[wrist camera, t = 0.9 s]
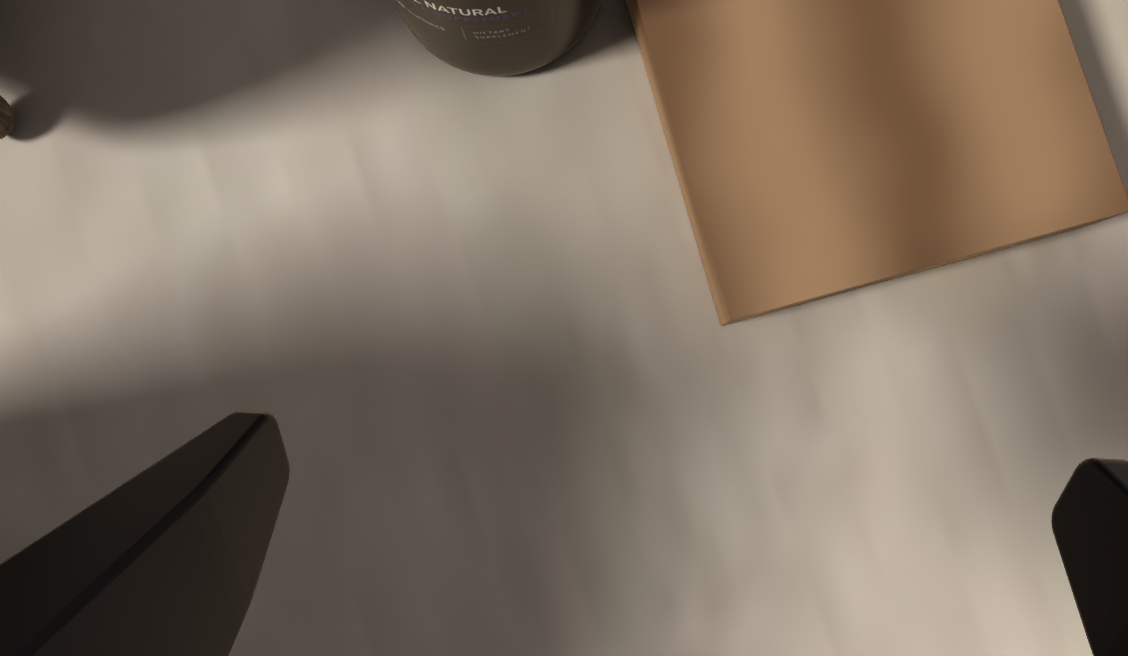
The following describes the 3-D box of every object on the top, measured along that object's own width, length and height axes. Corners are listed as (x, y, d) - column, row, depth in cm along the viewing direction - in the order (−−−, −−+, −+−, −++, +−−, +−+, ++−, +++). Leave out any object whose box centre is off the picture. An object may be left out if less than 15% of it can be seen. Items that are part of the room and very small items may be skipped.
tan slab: (721, 326, 22) (731, 320, 20) (623, -8, 23) (623, -45, 21) (1084, 226, 22) (1131, 210, 20) (967, -112, 23) (1001, -160, 21)
